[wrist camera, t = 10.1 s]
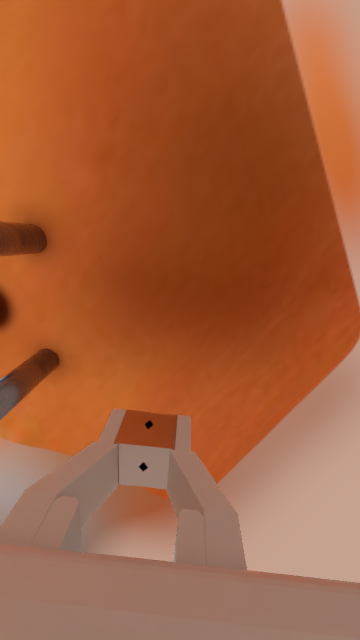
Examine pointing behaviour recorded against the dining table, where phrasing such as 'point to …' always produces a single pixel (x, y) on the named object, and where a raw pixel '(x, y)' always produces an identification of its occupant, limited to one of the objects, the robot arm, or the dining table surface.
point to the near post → (20, 239)
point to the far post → (25, 379)
